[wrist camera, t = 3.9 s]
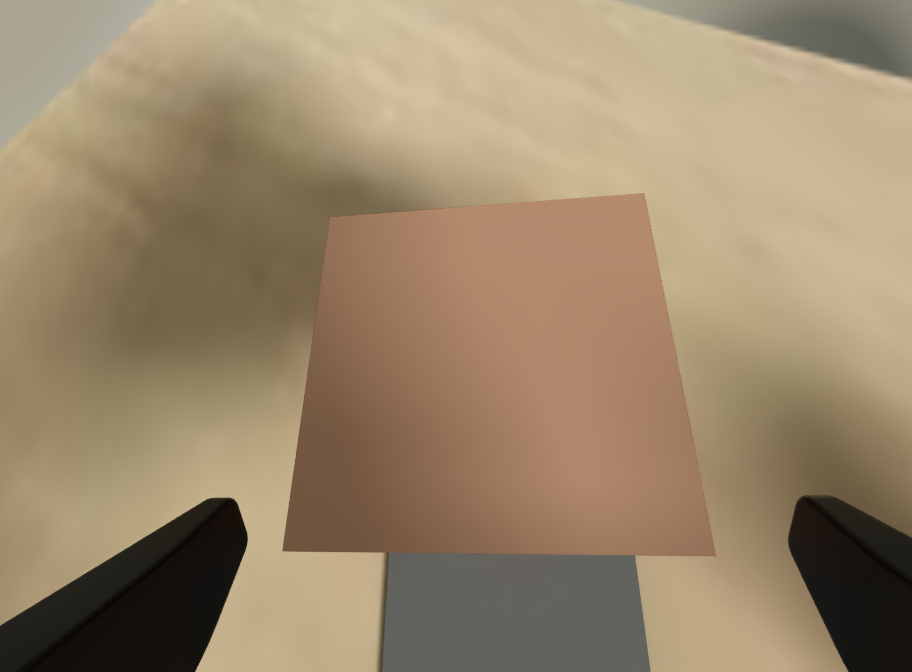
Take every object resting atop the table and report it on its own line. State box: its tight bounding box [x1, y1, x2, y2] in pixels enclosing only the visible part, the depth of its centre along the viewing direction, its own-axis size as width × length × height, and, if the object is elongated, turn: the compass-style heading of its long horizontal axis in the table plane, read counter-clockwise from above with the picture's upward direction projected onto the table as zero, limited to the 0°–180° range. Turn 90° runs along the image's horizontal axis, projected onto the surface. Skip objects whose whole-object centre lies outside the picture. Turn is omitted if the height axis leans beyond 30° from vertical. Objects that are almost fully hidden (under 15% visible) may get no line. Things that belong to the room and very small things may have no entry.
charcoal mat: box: [382, 553, 650, 672], centre depth 16 cm, size 20×8×1 cm, turn 0°
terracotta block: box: [282, 193, 716, 556], centre depth 10 cm, size 4×4×12 cm
